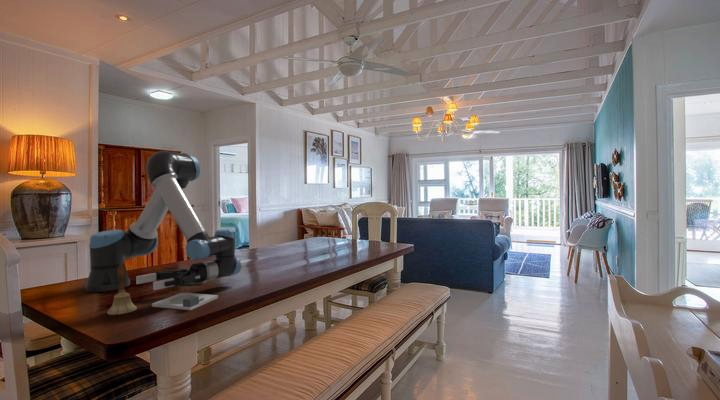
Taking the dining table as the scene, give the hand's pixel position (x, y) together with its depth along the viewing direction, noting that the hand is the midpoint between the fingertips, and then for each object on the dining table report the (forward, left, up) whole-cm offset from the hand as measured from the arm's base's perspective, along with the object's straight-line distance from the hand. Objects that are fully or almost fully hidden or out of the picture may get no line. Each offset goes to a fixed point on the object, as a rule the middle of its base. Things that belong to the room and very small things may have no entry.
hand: (144, 283), depth 123 cm
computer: (-6, +36, -9) cm, 37 cm away
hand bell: (-3, -6, -8) cm, 11 cm away
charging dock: (+11, +7, -8) cm, 15 cm away
